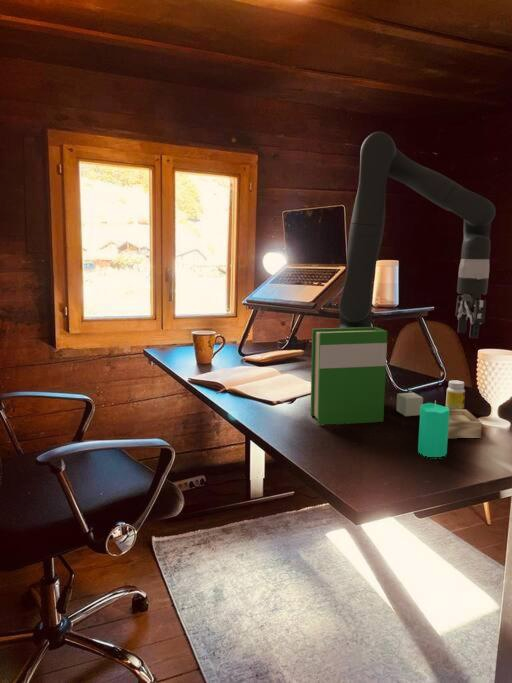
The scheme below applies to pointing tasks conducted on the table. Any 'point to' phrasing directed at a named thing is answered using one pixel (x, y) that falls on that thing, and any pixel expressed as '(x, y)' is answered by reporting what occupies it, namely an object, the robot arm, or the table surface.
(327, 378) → the hardback book
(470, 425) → the birch block
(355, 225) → the robot arm
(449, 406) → the supplement bottle
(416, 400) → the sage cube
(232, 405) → the table surface
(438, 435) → the candle
